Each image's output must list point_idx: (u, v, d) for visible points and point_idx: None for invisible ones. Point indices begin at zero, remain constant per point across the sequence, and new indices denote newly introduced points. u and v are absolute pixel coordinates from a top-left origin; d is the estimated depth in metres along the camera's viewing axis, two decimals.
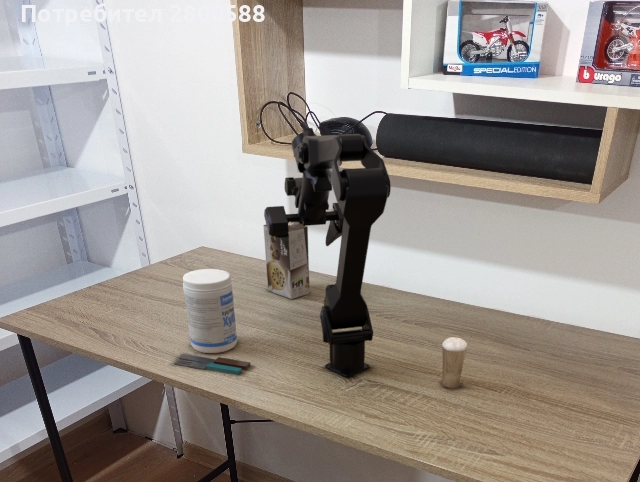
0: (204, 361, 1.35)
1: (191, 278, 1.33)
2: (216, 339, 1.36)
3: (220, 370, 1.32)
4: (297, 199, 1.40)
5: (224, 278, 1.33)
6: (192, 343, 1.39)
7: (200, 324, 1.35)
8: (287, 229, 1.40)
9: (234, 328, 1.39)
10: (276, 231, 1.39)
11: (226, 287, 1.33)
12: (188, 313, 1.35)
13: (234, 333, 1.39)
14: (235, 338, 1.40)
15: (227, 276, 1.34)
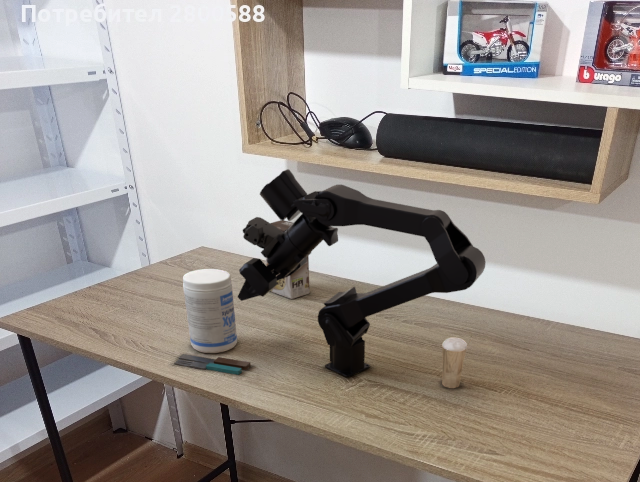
0: (204, 361, 1.35)
1: (191, 278, 1.33)
2: (216, 339, 1.36)
3: (220, 370, 1.32)
4: (272, 248, 1.23)
5: (224, 278, 1.33)
6: (192, 343, 1.39)
7: (200, 324, 1.35)
8: (275, 285, 1.24)
9: (234, 328, 1.39)
10: (269, 290, 1.22)
11: (226, 287, 1.33)
12: (188, 313, 1.35)
13: (234, 333, 1.39)
14: (235, 338, 1.40)
15: (227, 276, 1.34)
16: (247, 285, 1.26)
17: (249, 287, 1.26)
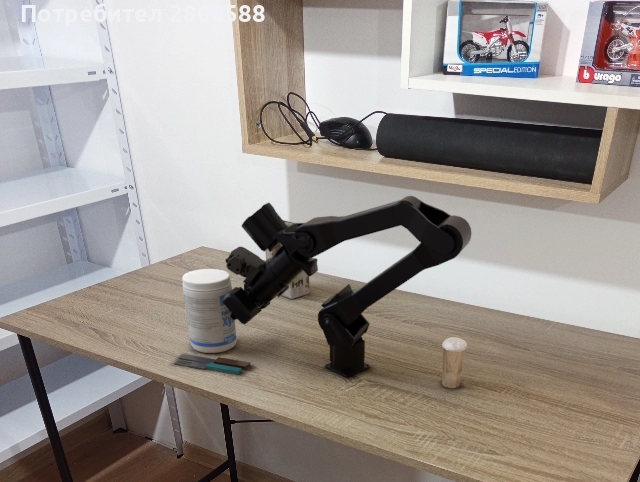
0: (204, 361, 1.35)
1: (191, 278, 1.33)
2: (215, 338, 1.36)
3: (220, 370, 1.32)
4: (253, 278, 1.28)
5: (223, 278, 1.33)
6: (192, 343, 1.39)
7: (200, 324, 1.35)
8: (257, 313, 1.28)
9: (234, 327, 1.39)
10: (251, 318, 1.26)
11: (225, 287, 1.33)
12: (188, 313, 1.35)
13: (234, 333, 1.39)
14: (235, 338, 1.40)
15: (226, 276, 1.34)
16: None
17: None
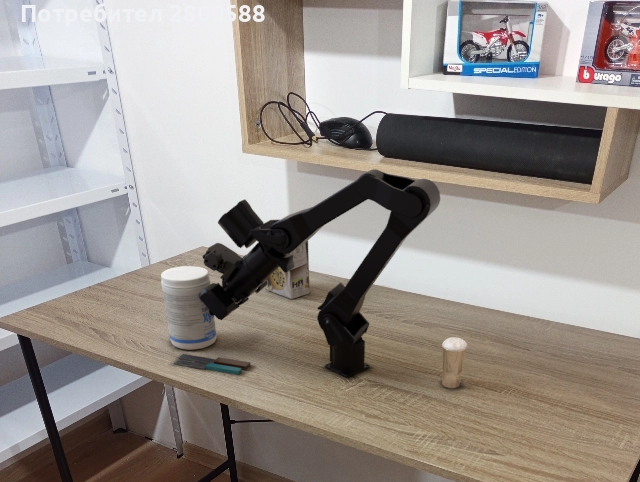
0: (204, 361, 1.35)
1: (170, 275, 1.34)
2: (196, 335, 1.38)
3: (220, 370, 1.32)
4: (230, 274, 1.29)
5: (203, 274, 1.34)
6: (172, 340, 1.40)
7: (180, 321, 1.36)
8: (234, 309, 1.29)
9: (214, 324, 1.41)
10: (228, 314, 1.28)
11: (205, 283, 1.35)
12: (167, 310, 1.36)
13: (214, 329, 1.41)
14: (215, 334, 1.42)
15: (205, 273, 1.35)
16: None
17: None
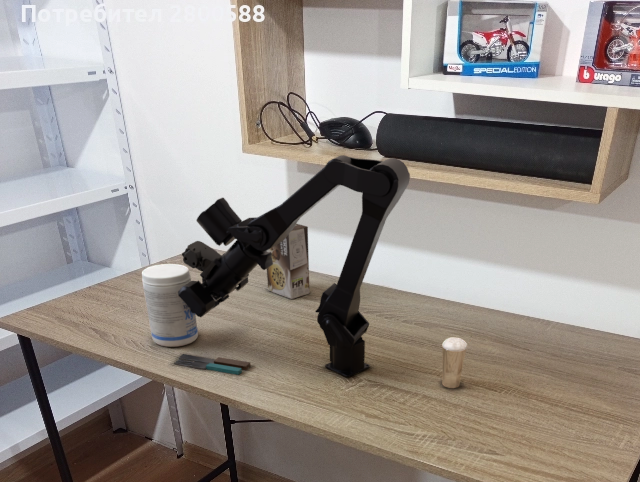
0: (204, 361, 1.35)
1: (151, 273, 1.35)
2: (178, 332, 1.39)
3: (220, 370, 1.32)
4: (210, 271, 1.30)
5: (184, 272, 1.35)
6: (154, 338, 1.41)
7: (162, 318, 1.37)
8: (213, 306, 1.30)
9: (195, 320, 1.42)
10: (207, 311, 1.29)
11: (186, 281, 1.36)
12: (149, 308, 1.37)
13: (195, 326, 1.42)
14: (196, 331, 1.43)
15: (186, 270, 1.36)
16: None
17: None
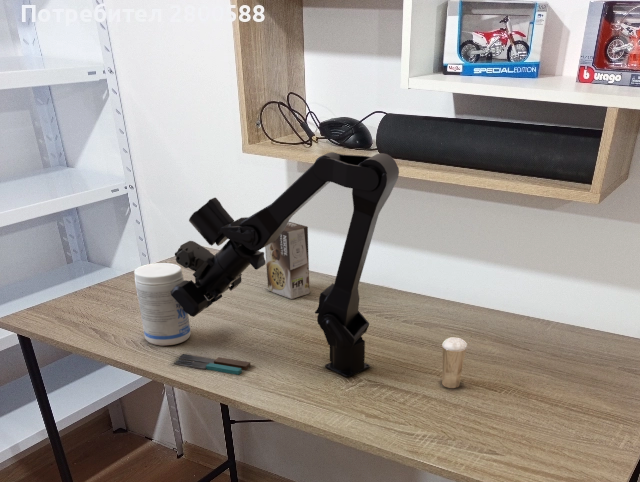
0: (204, 361, 1.35)
1: (143, 272, 1.35)
2: (171, 331, 1.39)
3: (220, 370, 1.32)
4: (202, 271, 1.31)
5: (176, 271, 1.36)
6: (147, 337, 1.41)
7: (155, 317, 1.37)
8: (206, 306, 1.31)
9: (188, 319, 1.42)
10: (200, 311, 1.29)
11: (179, 280, 1.36)
12: (142, 307, 1.38)
13: (188, 325, 1.43)
14: (189, 330, 1.44)
15: (178, 269, 1.37)
16: None
17: None
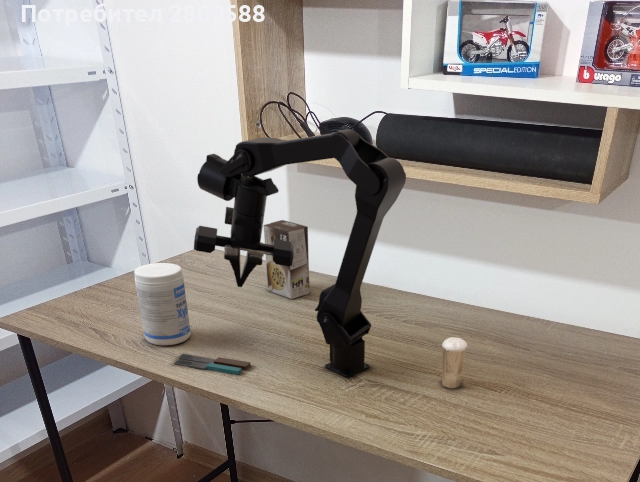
0: (204, 361, 1.35)
1: (143, 272, 1.35)
2: (171, 331, 1.39)
3: (220, 370, 1.32)
4: None
5: (176, 271, 1.36)
6: (147, 337, 1.41)
7: (155, 317, 1.37)
8: (213, 245, 1.28)
9: (188, 319, 1.42)
10: (201, 244, 1.28)
11: (179, 279, 1.36)
12: (142, 307, 1.38)
13: (188, 325, 1.43)
14: (189, 330, 1.44)
15: (178, 269, 1.37)
16: None
17: None
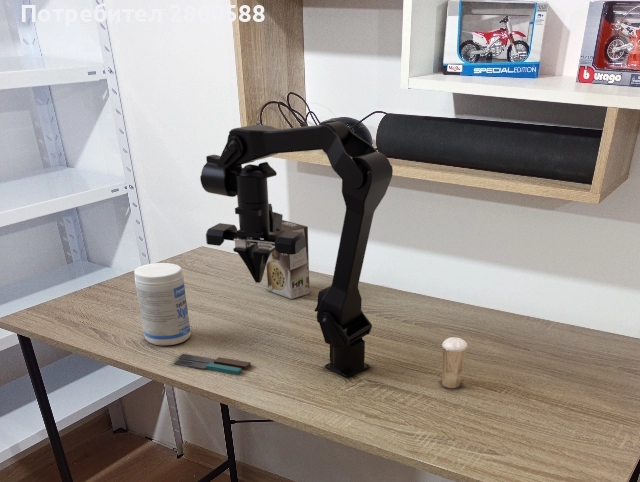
0: (204, 361, 1.35)
1: (143, 272, 1.35)
2: (171, 331, 1.39)
3: (220, 370, 1.32)
4: None
5: (176, 271, 1.36)
6: (147, 337, 1.41)
7: (155, 317, 1.37)
8: (221, 237, 1.30)
9: (188, 319, 1.42)
10: (210, 237, 1.31)
11: (179, 279, 1.36)
12: (142, 307, 1.38)
13: (188, 325, 1.43)
14: (189, 330, 1.44)
15: (178, 269, 1.37)
16: None
17: None
